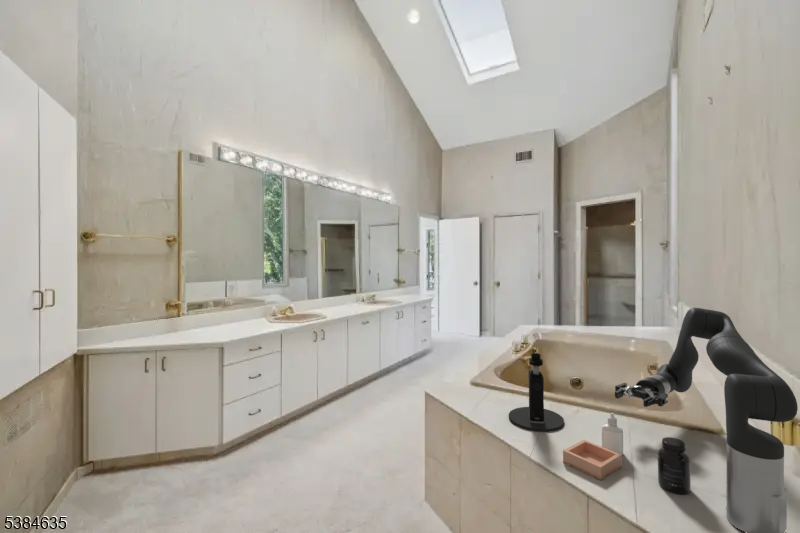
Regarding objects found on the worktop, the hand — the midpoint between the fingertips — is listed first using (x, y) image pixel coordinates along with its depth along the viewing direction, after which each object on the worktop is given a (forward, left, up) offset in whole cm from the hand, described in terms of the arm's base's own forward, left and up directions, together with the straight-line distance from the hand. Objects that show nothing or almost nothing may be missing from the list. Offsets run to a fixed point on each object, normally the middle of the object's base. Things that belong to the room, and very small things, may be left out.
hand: (630, 399), depth 122 cm
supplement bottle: (-18, +16, -14) cm, 28 cm away
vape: (+28, +10, -14) cm, 33 cm away
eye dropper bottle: (0, +11, -14) cm, 18 cm away
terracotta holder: (0, +23, -14) cm, 27 cm away
